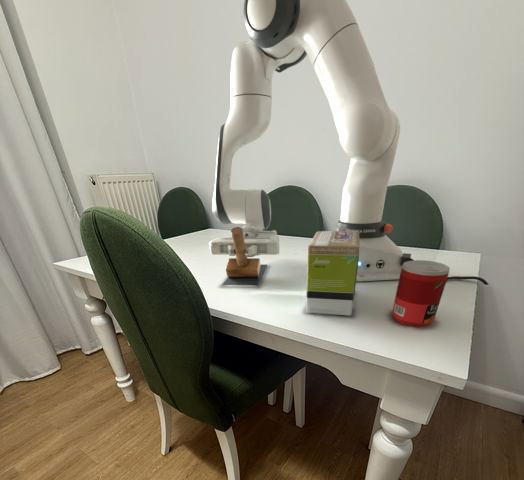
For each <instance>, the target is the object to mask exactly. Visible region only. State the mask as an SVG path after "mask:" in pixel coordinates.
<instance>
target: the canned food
mask: <svg viewBox="0 0 524 480" xmlns="http://www.w3.org/2000/svg"><path fill="white" fill-rule="evenodd" d="M413 260H414V261H407V262H405V263H403V266H402V269H401V273H400V277H399V279H398V283H397V288H396V291H395V297H394V301H393V306H392V311H391V315H392V319H393V320H394V321H395V322H397V323H399V324H402V325H403V326H408V327H414V328H423V327H428V326H431V324H433V322H434V321H435V318H436V316H437V313H438V309H439V306H440V303H441V300H442V297H443V294H444V290H445V287H446V283H447V281H448V280H447V278H448V277H449V274H450V270H451V267H450V266H448V265H447V264H444V263H442V262H438V261H432V260H421V259H419V260H417V259H416V260H415V259H413Z"/></svg>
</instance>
